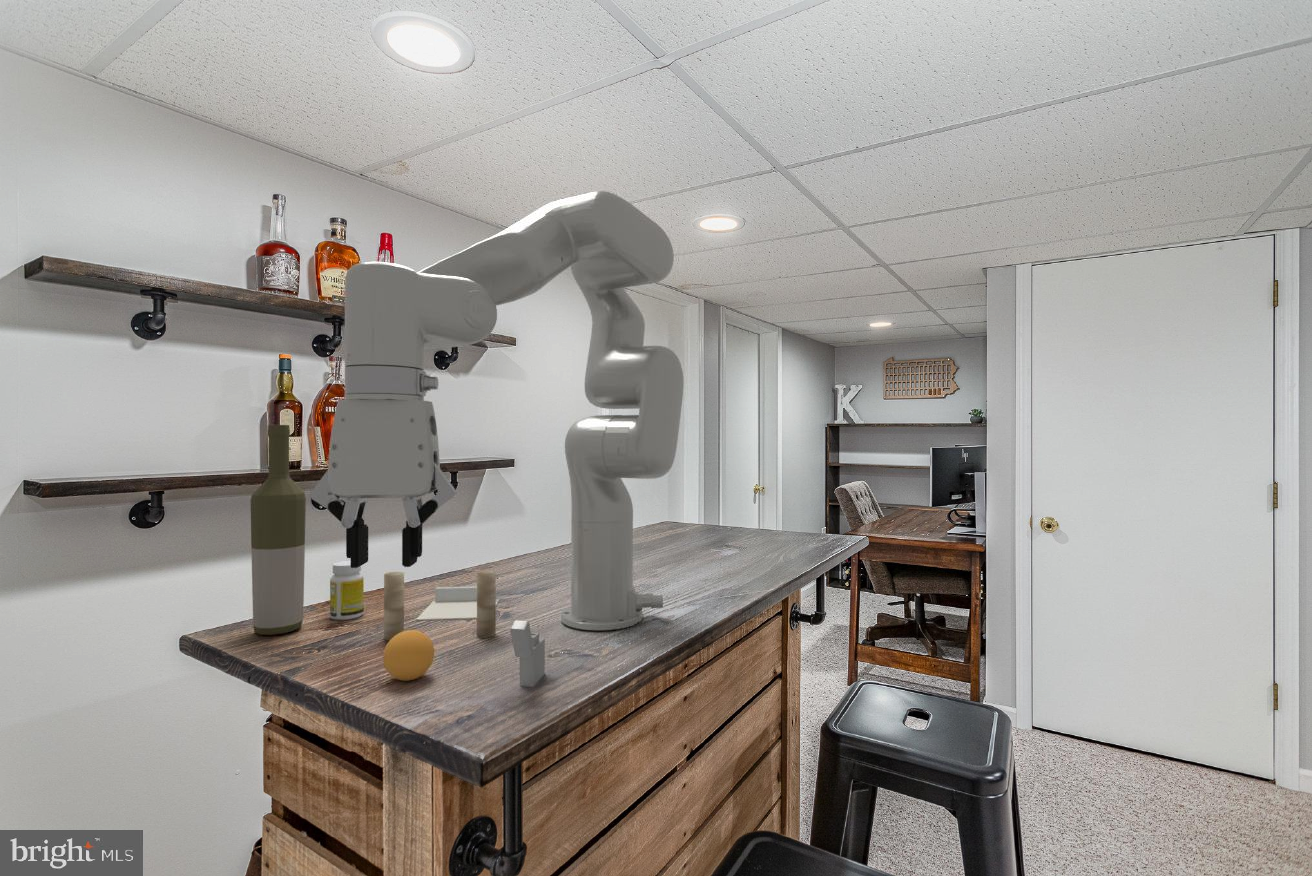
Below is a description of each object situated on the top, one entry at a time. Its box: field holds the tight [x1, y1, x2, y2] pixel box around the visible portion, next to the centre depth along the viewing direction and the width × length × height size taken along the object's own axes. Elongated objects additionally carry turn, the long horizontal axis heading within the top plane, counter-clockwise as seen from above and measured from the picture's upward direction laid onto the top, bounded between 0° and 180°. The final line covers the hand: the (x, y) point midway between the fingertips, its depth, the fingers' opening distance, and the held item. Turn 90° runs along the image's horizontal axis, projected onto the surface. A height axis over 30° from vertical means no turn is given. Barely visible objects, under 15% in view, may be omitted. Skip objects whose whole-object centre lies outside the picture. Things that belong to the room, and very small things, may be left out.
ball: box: [382, 629, 435, 682], centre depth 75 cm, size 6×6×6 cm
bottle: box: [250, 424, 307, 636], centre depth 93 cm, size 7×7×30 cm
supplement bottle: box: [329, 560, 365, 621], centre depth 101 cm, size 5×5×8 cm
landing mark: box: [415, 598, 500, 621], centre depth 104 cm, size 11×11×1 cm
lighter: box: [509, 619, 546, 688], centre depth 73 cm, size 7×2×8 cm, turn 172°
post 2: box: [476, 569, 497, 639], centre depth 91 cm, size 3×3×9 cm
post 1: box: [383, 571, 405, 642], centre depth 90 cm, size 3×3×9 cm
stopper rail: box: [434, 585, 477, 602], centre depth 109 cm, size 10×1×2 cm, turn 96°
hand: (384, 562), depth 66 cm, fingers open, 4 cm apart
